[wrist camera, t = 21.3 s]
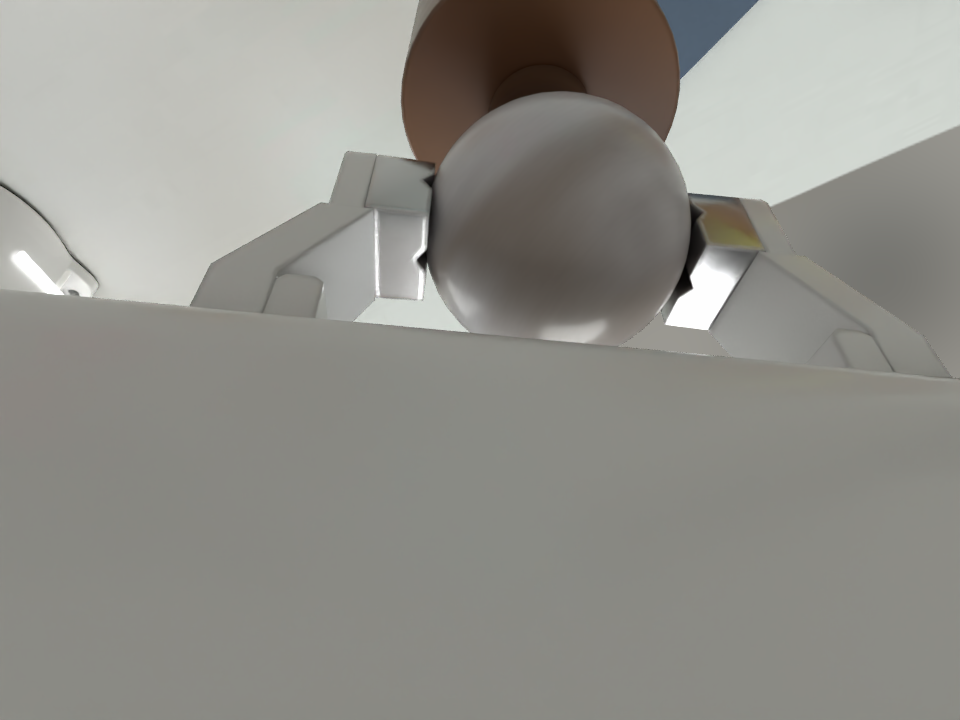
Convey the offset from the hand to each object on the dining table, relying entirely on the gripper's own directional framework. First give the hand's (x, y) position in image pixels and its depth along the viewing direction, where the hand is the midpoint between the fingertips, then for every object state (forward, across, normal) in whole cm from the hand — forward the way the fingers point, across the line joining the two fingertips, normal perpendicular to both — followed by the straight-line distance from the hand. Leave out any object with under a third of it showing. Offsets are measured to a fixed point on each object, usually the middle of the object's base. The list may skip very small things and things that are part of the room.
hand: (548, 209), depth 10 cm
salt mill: (+12, +5, -1) cm, 13 cm away
